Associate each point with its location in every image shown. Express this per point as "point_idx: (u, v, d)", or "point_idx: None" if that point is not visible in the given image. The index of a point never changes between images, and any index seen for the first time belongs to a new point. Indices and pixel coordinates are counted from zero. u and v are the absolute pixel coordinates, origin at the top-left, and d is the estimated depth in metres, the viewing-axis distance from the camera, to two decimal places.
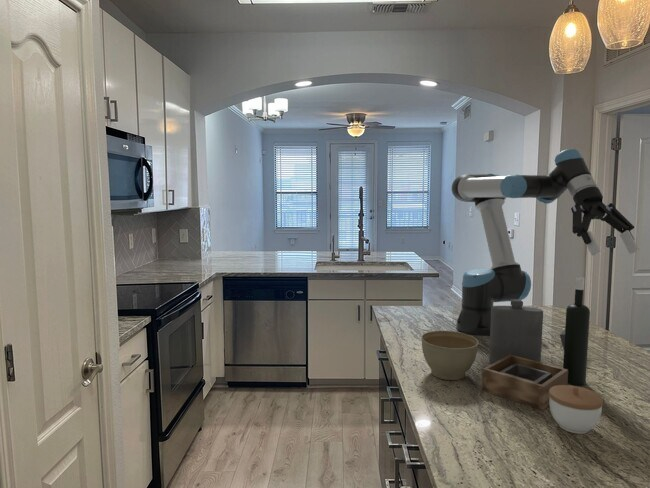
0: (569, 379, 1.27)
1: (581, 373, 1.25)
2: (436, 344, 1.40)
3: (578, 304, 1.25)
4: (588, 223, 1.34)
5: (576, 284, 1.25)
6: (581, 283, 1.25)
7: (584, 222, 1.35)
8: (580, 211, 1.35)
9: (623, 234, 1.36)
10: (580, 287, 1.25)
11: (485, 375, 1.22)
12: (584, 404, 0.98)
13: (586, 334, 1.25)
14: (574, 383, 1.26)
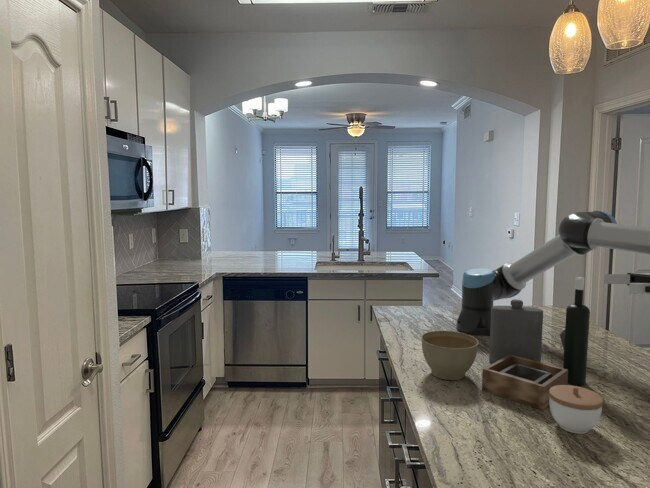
0: (569, 379, 1.27)
1: (581, 373, 1.25)
2: (436, 344, 1.40)
3: (578, 304, 1.25)
4: None
5: (576, 284, 1.25)
6: (581, 283, 1.25)
7: None
8: None
9: (628, 278, 1.30)
10: (580, 287, 1.25)
11: (485, 375, 1.22)
12: (584, 404, 0.98)
13: (586, 334, 1.25)
14: (574, 383, 1.26)
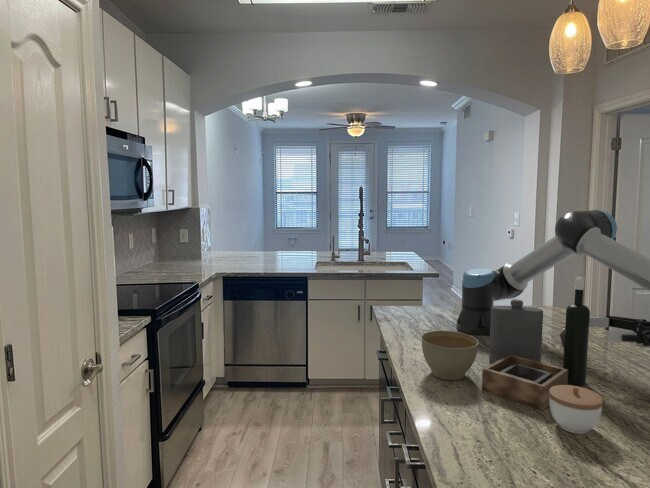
0: (569, 379, 1.27)
1: (581, 373, 1.25)
2: (436, 344, 1.40)
3: (578, 304, 1.25)
4: None
5: (576, 284, 1.25)
6: (581, 283, 1.25)
7: None
8: None
9: (606, 322, 1.31)
10: (580, 287, 1.25)
11: (485, 375, 1.22)
12: (584, 404, 0.98)
13: (586, 334, 1.25)
14: (574, 383, 1.26)
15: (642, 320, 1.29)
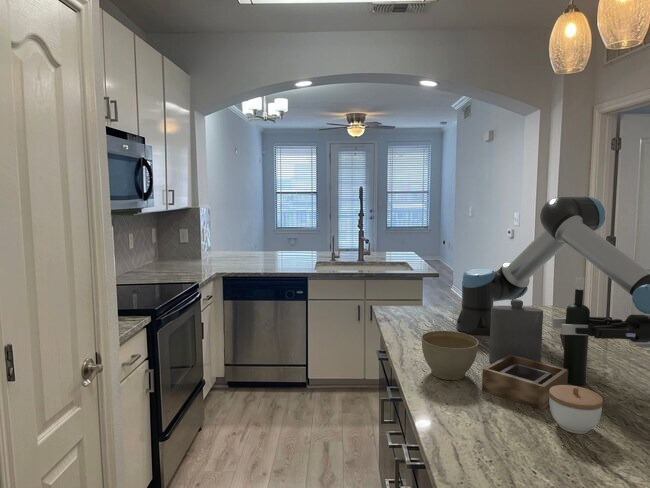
0: (569, 379, 1.27)
1: (581, 373, 1.25)
2: (436, 344, 1.40)
3: (578, 304, 1.25)
4: None
5: (576, 284, 1.25)
6: (581, 283, 1.25)
7: None
8: None
9: None
10: (580, 287, 1.25)
11: (485, 375, 1.22)
12: (584, 404, 0.98)
13: None
14: (574, 383, 1.26)
15: (609, 318, 1.31)
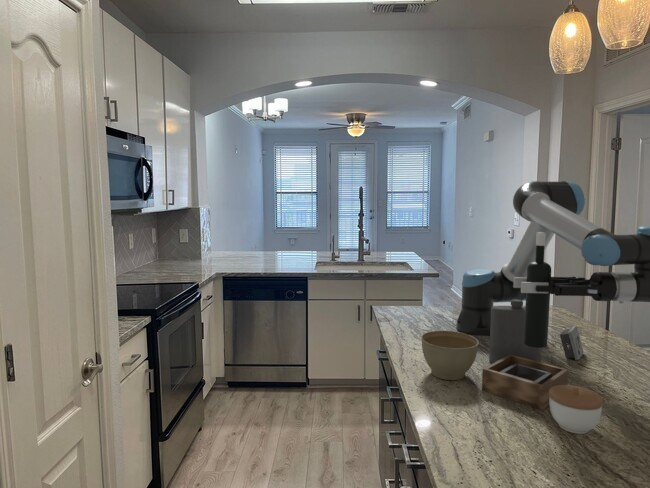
0: (530, 341, 1.20)
1: (542, 334, 1.19)
2: (436, 344, 1.40)
3: (539, 261, 1.18)
4: None
5: (537, 240, 1.18)
6: (542, 238, 1.18)
7: None
8: None
9: None
10: (541, 243, 1.18)
11: (485, 375, 1.22)
12: (584, 404, 0.98)
13: None
14: (535, 345, 1.19)
15: (573, 277, 1.24)
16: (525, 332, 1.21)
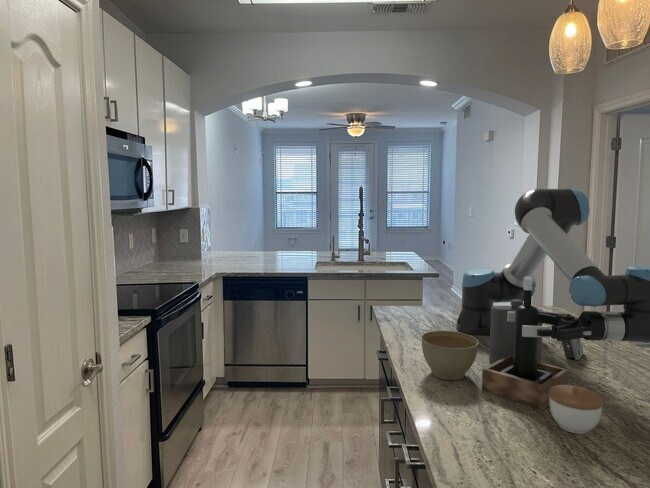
0: None
1: (530, 377, 1.20)
2: (436, 344, 1.40)
3: (527, 305, 1.20)
4: None
5: (524, 284, 1.20)
6: (529, 283, 1.19)
7: None
8: None
9: None
10: (528, 287, 1.19)
11: (485, 375, 1.22)
12: (584, 404, 0.98)
13: (535, 337, 1.19)
14: None
15: (566, 315, 1.25)
16: (514, 375, 1.22)
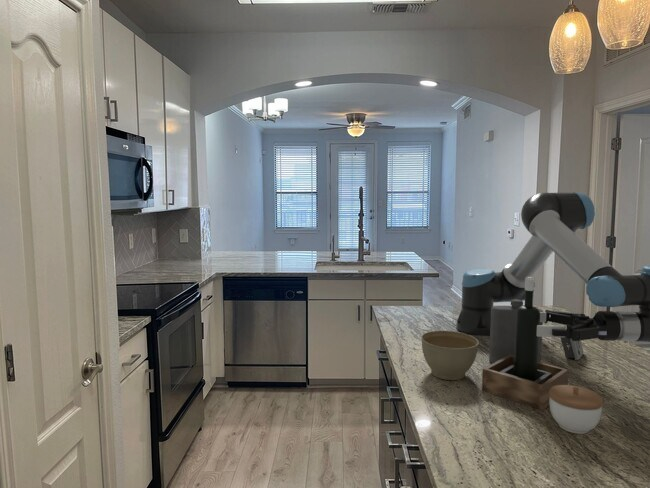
0: None
1: (531, 378, 1.20)
2: (436, 344, 1.40)
3: (528, 306, 1.19)
4: None
5: (526, 285, 1.19)
6: (531, 283, 1.19)
7: (578, 332, 1.13)
8: None
9: (544, 316, 1.26)
10: (530, 288, 1.19)
11: (485, 375, 1.22)
12: (584, 404, 0.98)
13: (536, 337, 1.19)
14: None
15: (580, 315, 1.24)
16: (514, 375, 1.22)
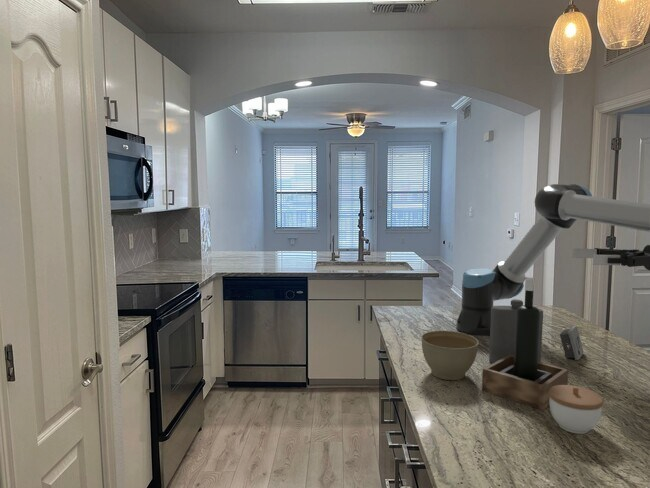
0: None
1: (531, 378, 1.20)
2: (436, 344, 1.40)
3: (528, 306, 1.20)
4: None
5: (526, 285, 1.20)
6: (531, 283, 1.19)
7: None
8: None
9: (594, 253, 1.36)
10: (530, 288, 1.19)
11: (485, 375, 1.22)
12: (584, 404, 0.98)
13: (536, 337, 1.19)
14: None
15: None
16: (514, 375, 1.22)
